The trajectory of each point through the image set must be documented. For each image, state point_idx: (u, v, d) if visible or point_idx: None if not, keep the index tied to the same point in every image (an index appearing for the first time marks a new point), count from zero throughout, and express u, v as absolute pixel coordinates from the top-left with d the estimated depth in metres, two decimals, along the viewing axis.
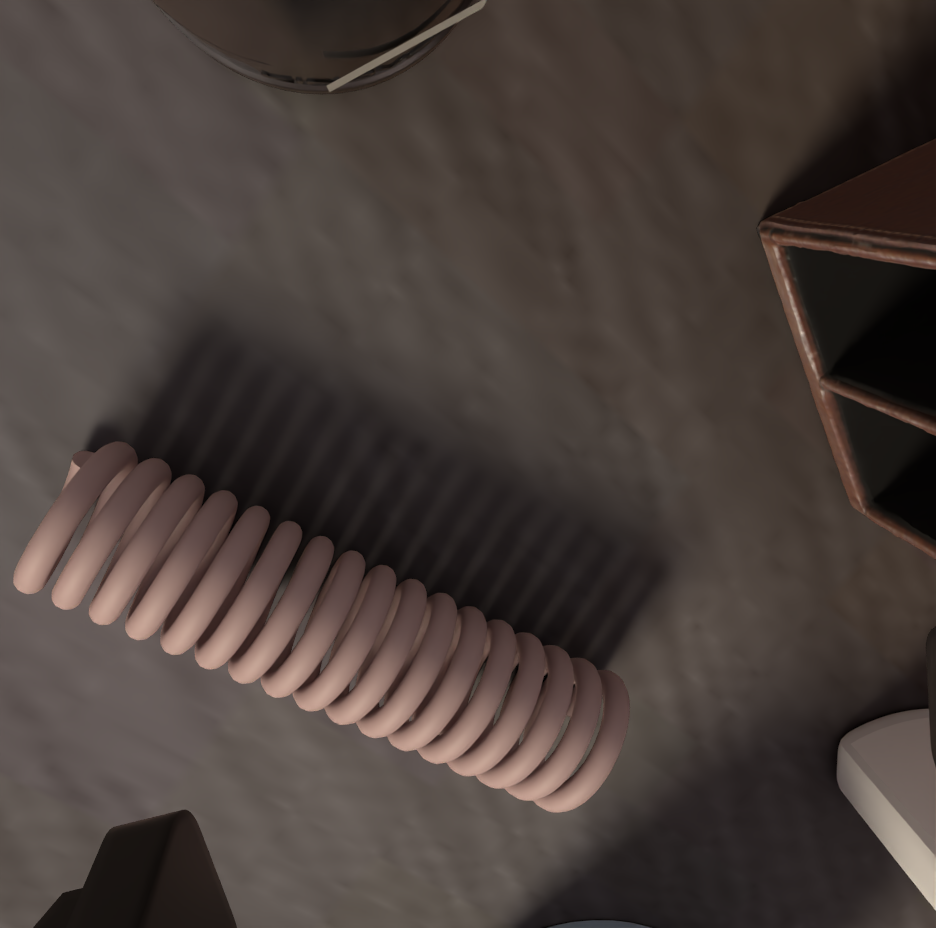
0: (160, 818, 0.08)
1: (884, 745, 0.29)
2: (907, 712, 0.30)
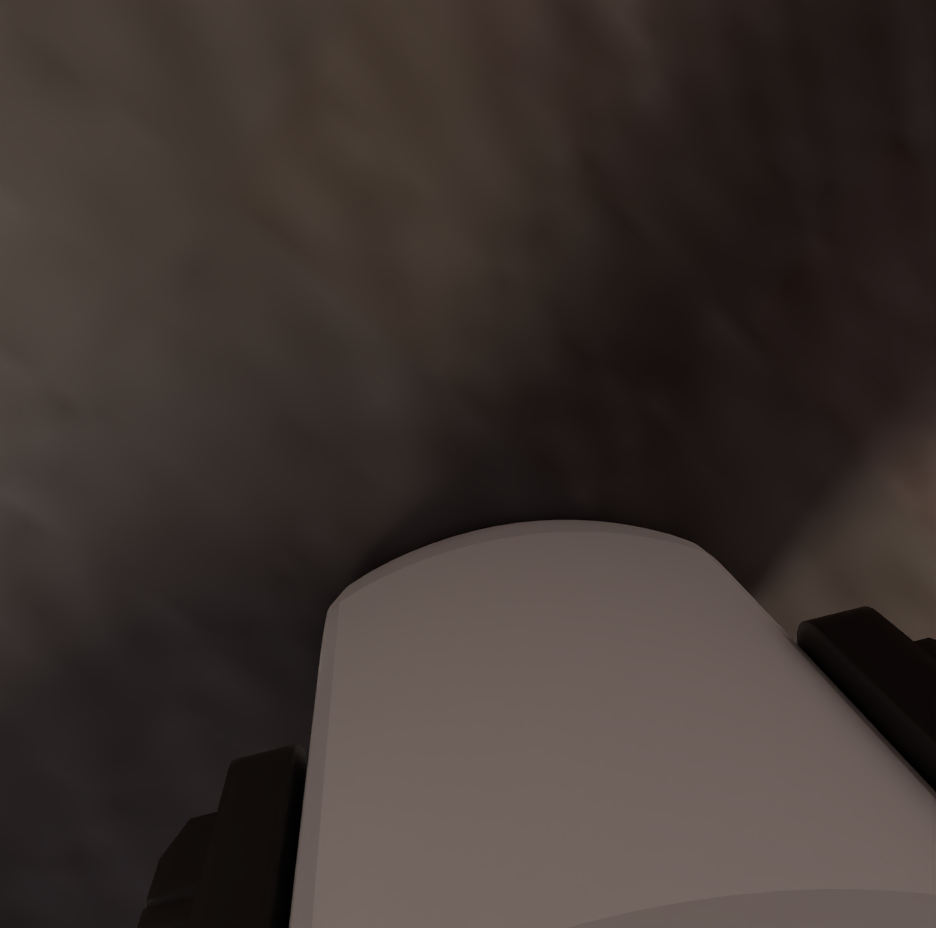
0: (279, 750, 0.09)
1: (396, 596, 0.11)
2: (504, 525, 0.12)
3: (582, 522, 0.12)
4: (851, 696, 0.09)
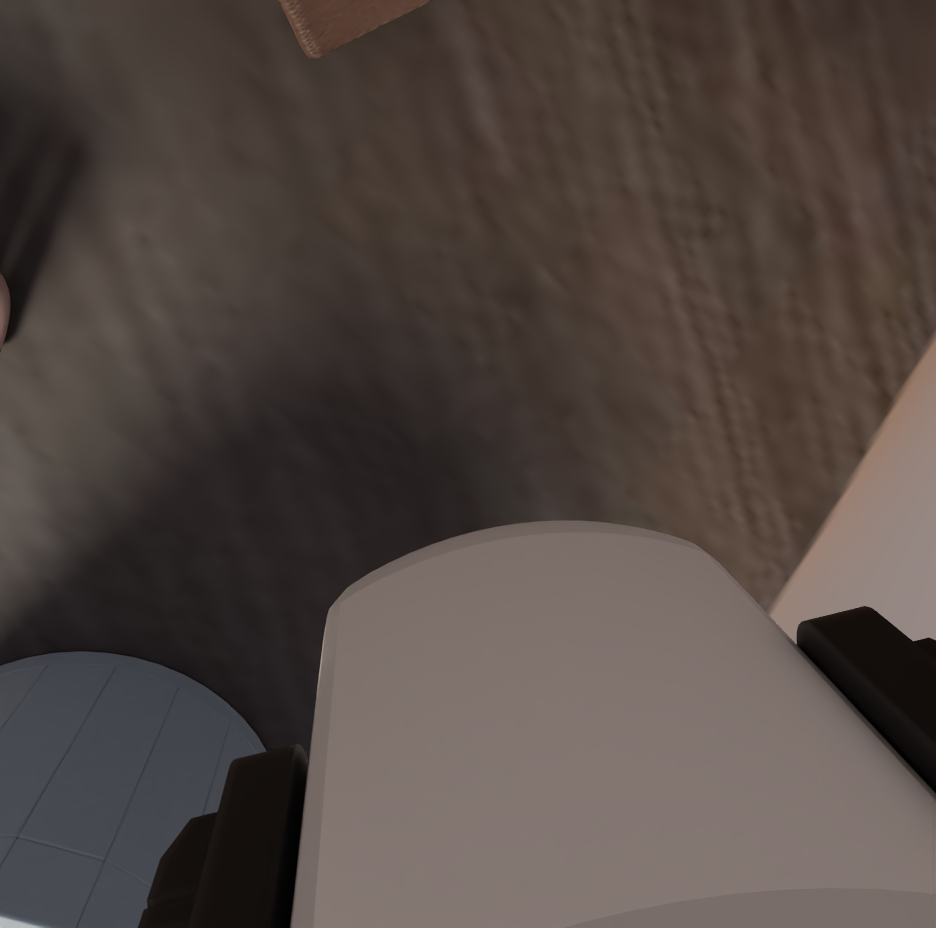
0: (279, 750, 0.09)
1: (397, 597, 0.11)
2: (505, 526, 0.12)
3: (581, 523, 0.12)
4: (850, 696, 0.09)
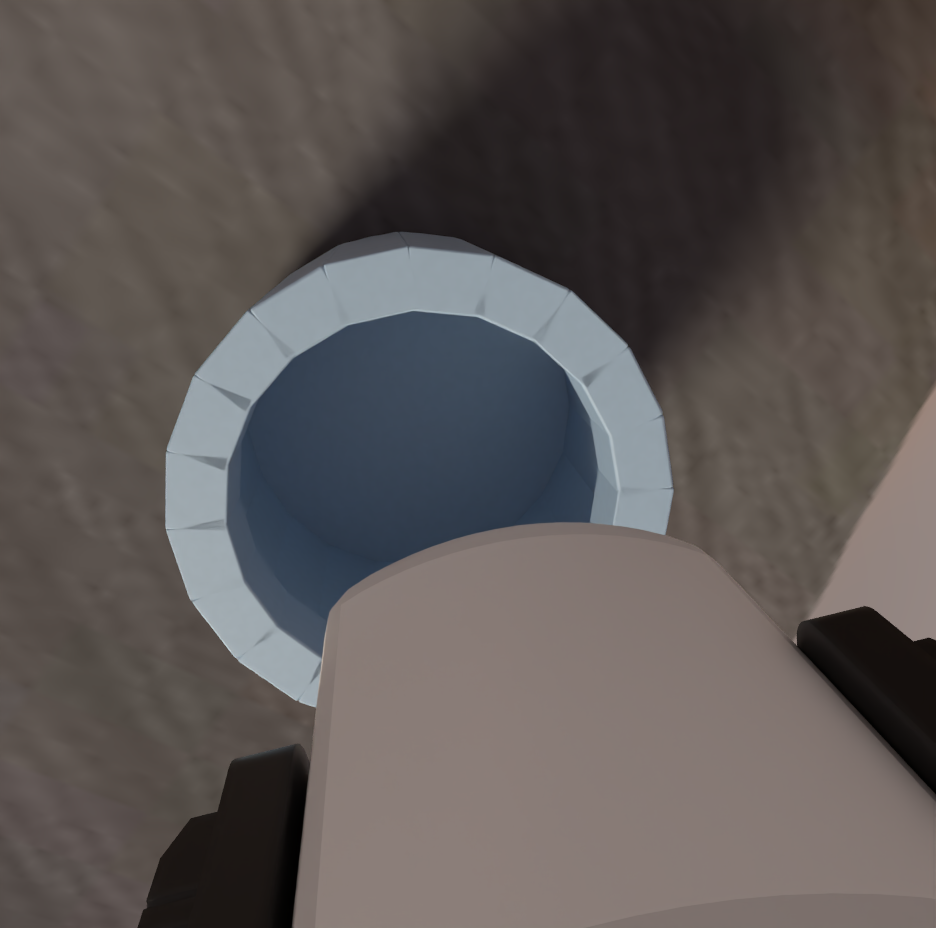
0: (279, 750, 0.09)
1: (398, 599, 0.11)
2: (506, 528, 0.12)
3: (583, 525, 0.12)
4: (851, 696, 0.09)
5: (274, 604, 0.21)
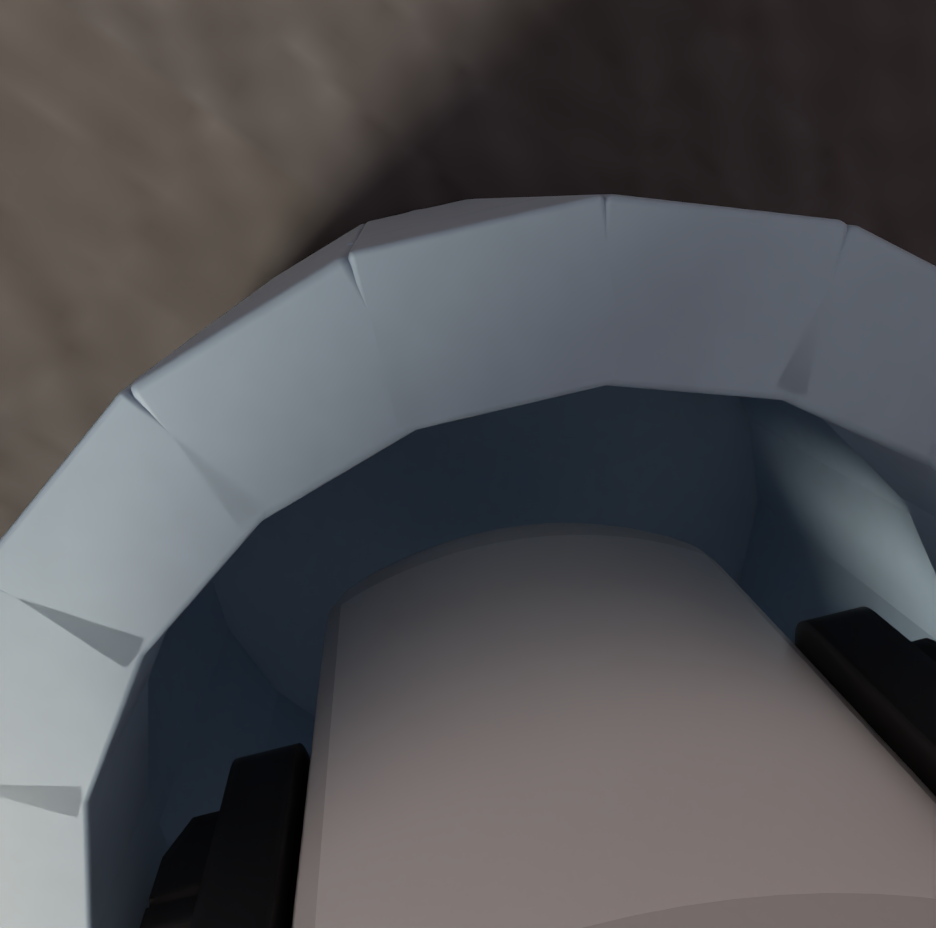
0: (280, 749, 0.09)
1: (398, 599, 0.11)
2: (505, 528, 0.12)
3: (583, 525, 0.12)
4: (848, 696, 0.09)
5: None
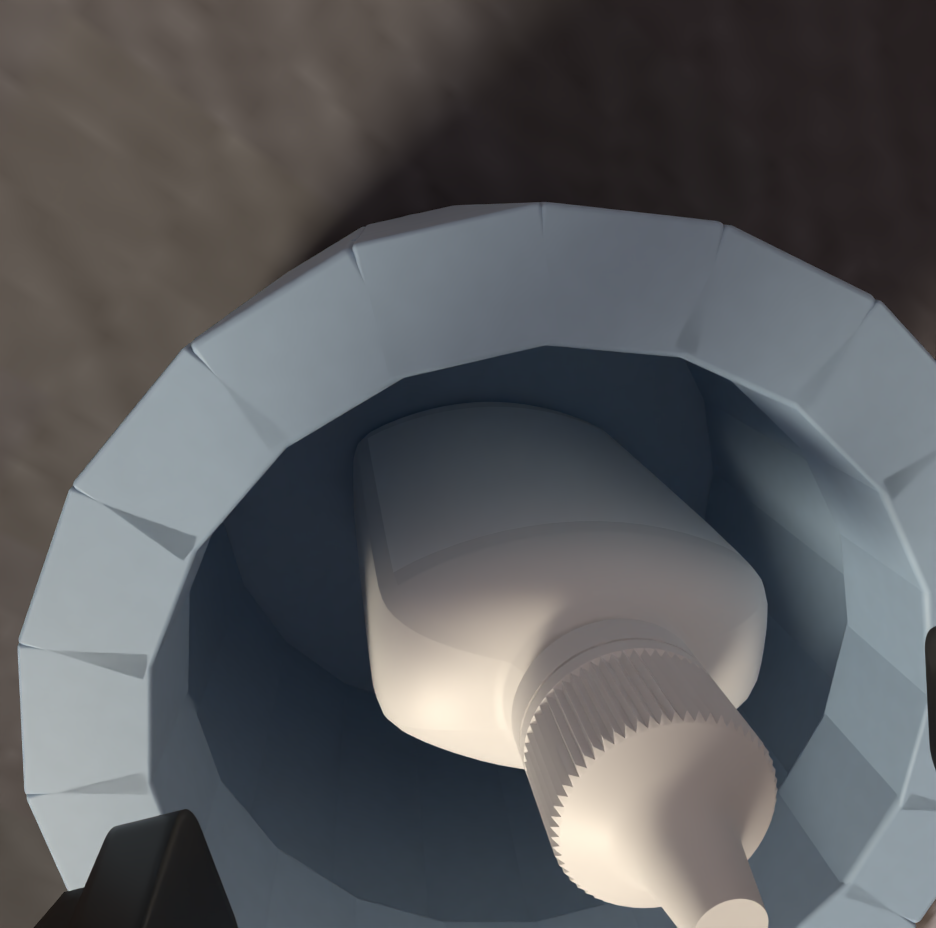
0: (161, 817, 0.08)
1: (410, 431, 0.16)
2: (478, 402, 0.18)
3: (529, 405, 0.18)
4: None
5: (252, 904, 0.11)
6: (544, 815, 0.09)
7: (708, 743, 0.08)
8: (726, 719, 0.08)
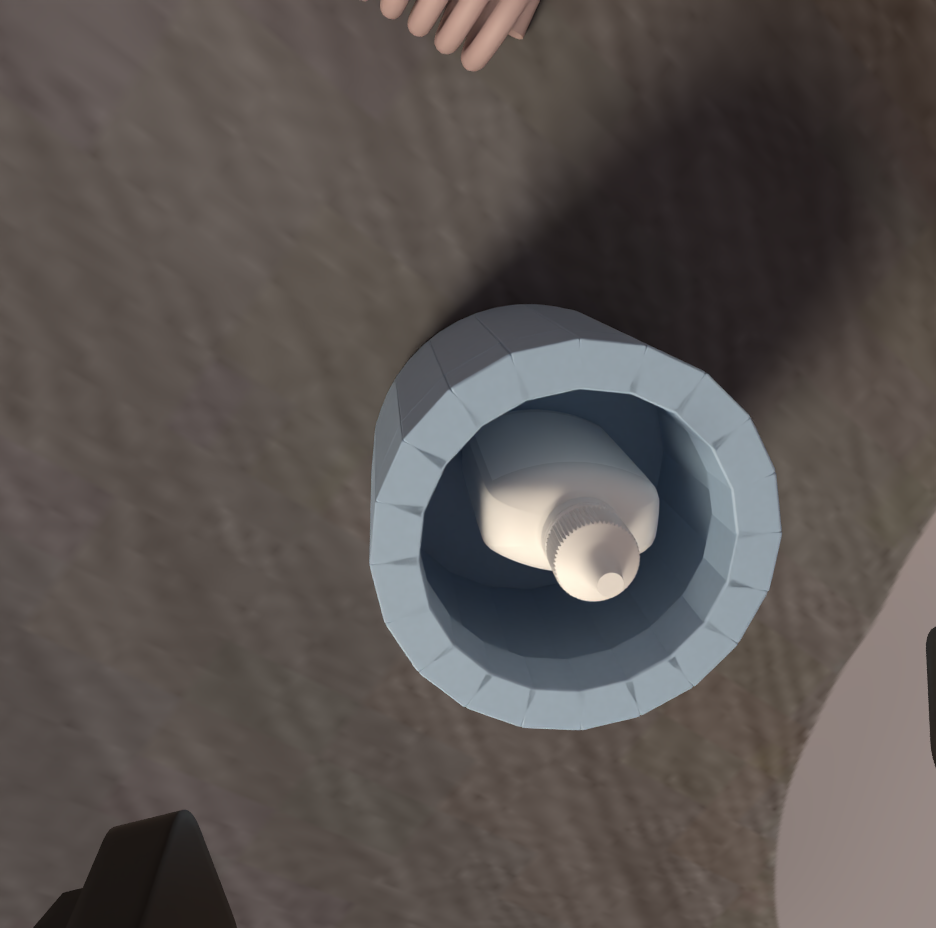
0: (160, 818, 0.08)
1: (495, 423, 0.31)
2: (531, 409, 0.32)
3: (559, 412, 0.32)
4: None
5: (447, 626, 0.26)
6: (551, 562, 0.23)
7: (611, 532, 0.23)
8: (619, 525, 0.23)
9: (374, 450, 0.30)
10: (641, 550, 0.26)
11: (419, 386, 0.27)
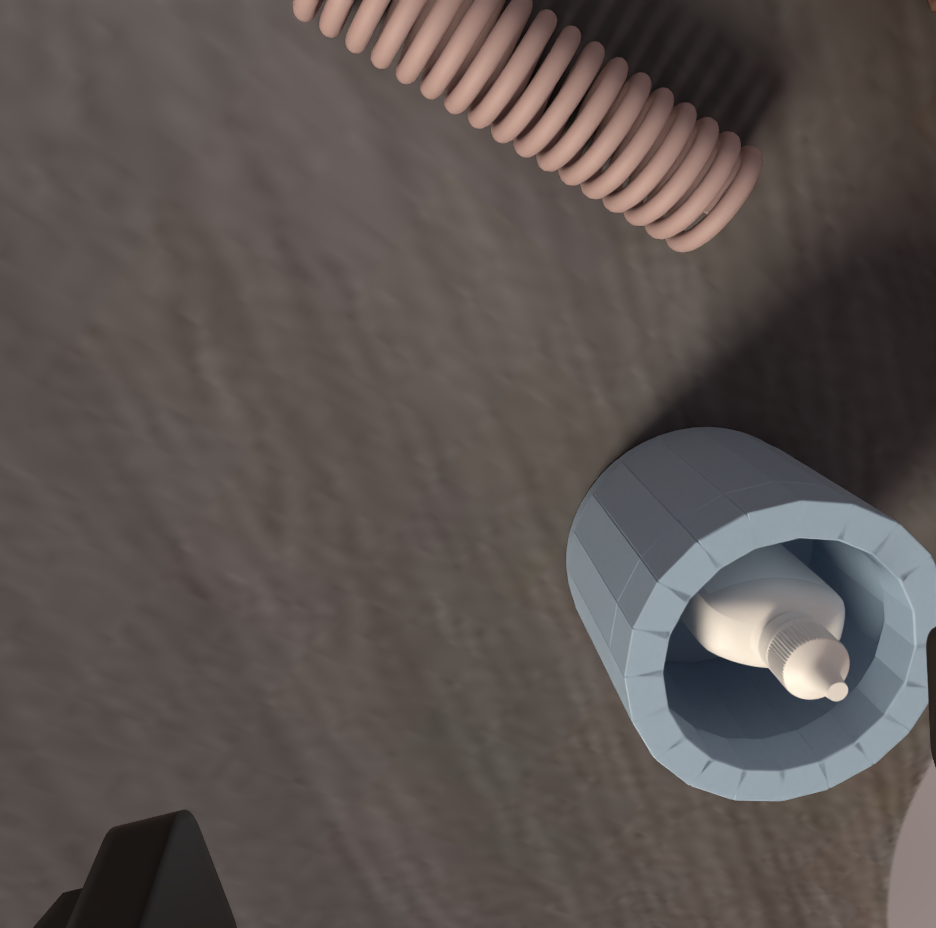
0: (160, 818, 0.08)
1: None
2: None
3: None
4: None
5: None
6: (777, 669, 0.29)
7: (829, 646, 0.29)
8: (834, 640, 0.29)
9: (583, 559, 0.36)
10: None
11: (643, 520, 0.32)
